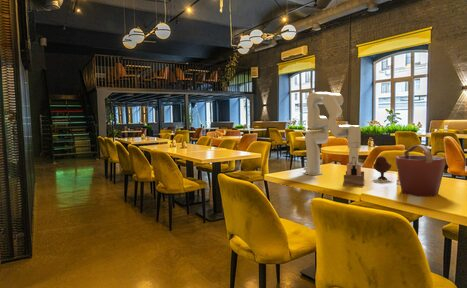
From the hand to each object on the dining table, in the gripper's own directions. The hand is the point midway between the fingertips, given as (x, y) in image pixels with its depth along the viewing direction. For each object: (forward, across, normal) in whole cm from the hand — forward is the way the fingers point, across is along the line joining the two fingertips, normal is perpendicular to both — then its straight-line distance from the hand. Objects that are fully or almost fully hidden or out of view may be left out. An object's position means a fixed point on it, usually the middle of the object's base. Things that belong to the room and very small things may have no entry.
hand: (354, 174), depth 200 cm
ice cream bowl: (+5, -18, +16) cm, 25 cm away
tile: (+2, 0, 0) cm, 2 cm away
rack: (+5, 0, 0) cm, 5 cm away
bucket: (+5, +20, +33) cm, 39 cm away
